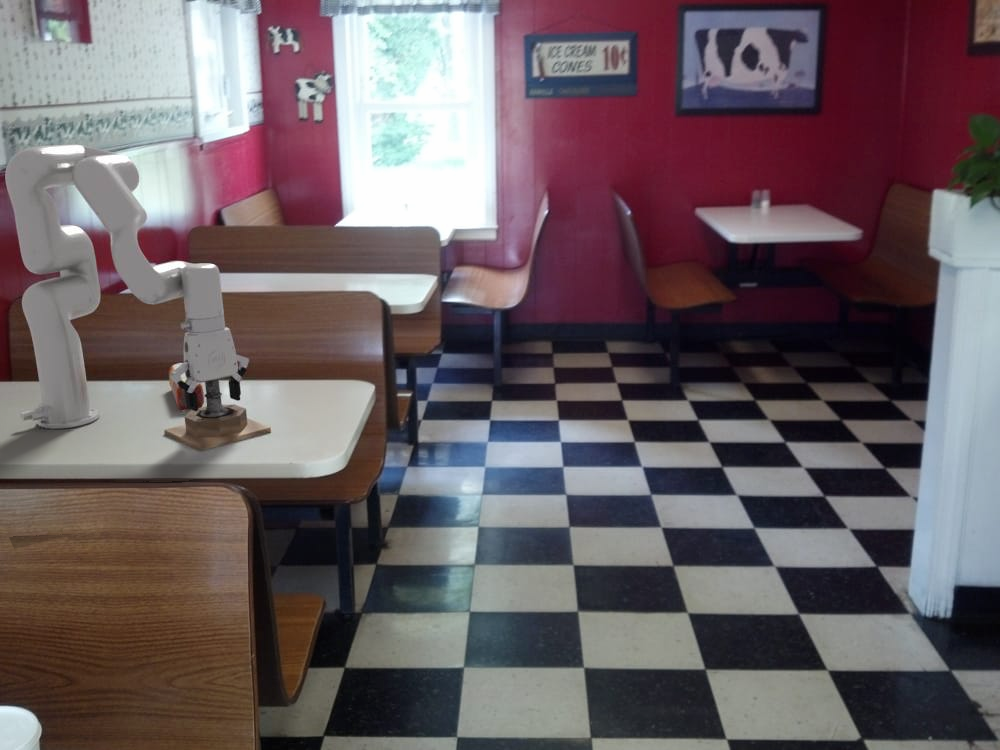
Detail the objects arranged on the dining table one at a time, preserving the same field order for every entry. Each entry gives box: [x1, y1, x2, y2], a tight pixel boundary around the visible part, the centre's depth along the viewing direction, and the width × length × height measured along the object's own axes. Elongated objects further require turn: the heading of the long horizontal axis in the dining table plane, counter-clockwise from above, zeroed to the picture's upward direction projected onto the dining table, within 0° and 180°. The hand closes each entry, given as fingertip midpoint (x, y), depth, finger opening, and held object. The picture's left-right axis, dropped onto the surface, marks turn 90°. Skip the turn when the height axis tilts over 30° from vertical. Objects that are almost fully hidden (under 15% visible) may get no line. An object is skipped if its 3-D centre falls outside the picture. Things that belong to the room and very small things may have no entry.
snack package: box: [168, 362, 205, 411], centre depth 240 cm, size 21×7×7 cm, turn 21°
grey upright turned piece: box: [201, 379, 229, 418], centre depth 212 cm, size 6×6×12 cm
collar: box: [163, 404, 272, 452], centre depth 214 cm, size 16×16×4 cm
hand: (214, 404), depth 213 cm, fingers open, 9 cm apart
